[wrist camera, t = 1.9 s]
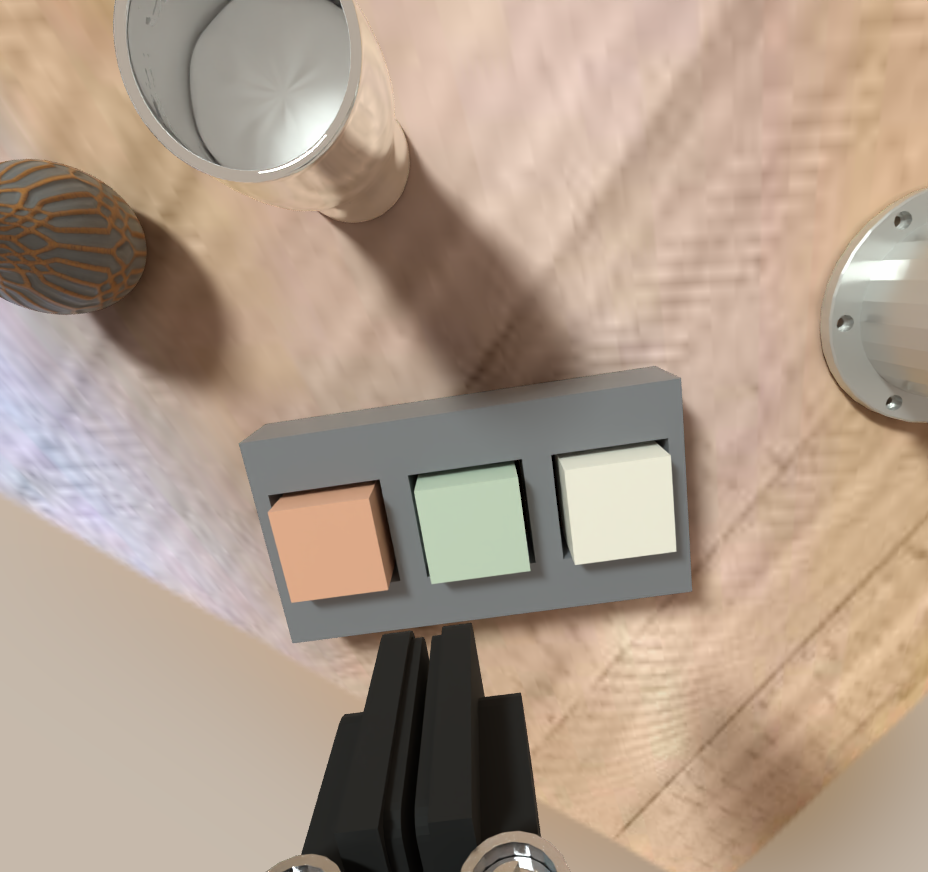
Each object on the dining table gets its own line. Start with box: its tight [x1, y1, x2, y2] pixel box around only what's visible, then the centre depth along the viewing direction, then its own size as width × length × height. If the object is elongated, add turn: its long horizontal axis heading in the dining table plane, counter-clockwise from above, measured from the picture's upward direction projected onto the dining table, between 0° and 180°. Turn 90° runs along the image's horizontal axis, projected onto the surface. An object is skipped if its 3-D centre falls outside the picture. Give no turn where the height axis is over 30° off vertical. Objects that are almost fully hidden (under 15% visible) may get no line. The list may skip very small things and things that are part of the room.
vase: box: [0, 159, 147, 315], centre depth 26 cm, size 7×7×9 cm
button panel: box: [239, 366, 692, 643], centre depth 32 cm, size 23×12×4 cm, turn 99°
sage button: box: [414, 460, 531, 584], centre depth 31 cm, size 5×5×4 cm
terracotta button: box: [268, 479, 396, 603], centre depth 31 cm, size 5×5×4 cm
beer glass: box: [113, 0, 410, 223], centre depth 22 cm, size 7×7×15 cm
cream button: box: [554, 440, 676, 565], centre depth 30 cm, size 5×5×4 cm
